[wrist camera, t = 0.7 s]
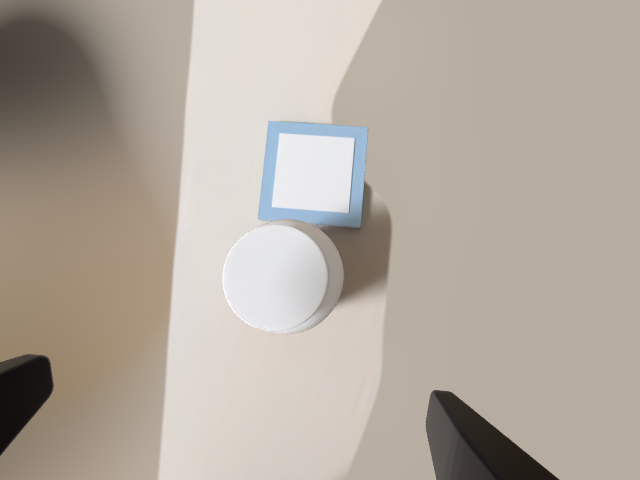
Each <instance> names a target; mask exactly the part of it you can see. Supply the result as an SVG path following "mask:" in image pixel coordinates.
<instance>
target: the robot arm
mask: <svg viewBox="0 0 640 480" xmlns="http://www.w3.org/2000/svg"><path fill="white" fill-rule="evenodd" d="M53 387H54V385H53V377H52V370H51V363H50V360H49V358H48V357H47V356H44V355H35V354H26V355H23V356H19V357H16V358H13V359H9V360H6V361H3V362H0V456H1V454H2V453H3V452H4V451H5V450H6V448H7V447H8V446H9V445H10V443H11V442H12V441H13V440H14V439H15V438H16V436H17V435H18V434H19V433H20V432H21V430H22V429H23V428H24V427H25V426H26V424H27V423H28V422H29V421H30V419H32V417H33V416H34V415H35V414H36V412H37V411H38V410H39V409H40V408H41V406H42V405H43V404H44V403H45V402H46V401H47V399H48V398H49V397H50V395H51V393H52V391H53ZM426 432H427V437H428V441H429V446H430V451H431V455H432V460H433V465H434V470H435V474H436V479H437V480H559V479H558V478H557V477H555V476H554V475H553V474H552V473H550V472H549V471H548V470H547V469H546V468H544V467H543V466H542V465H540V464H539V463H538V462H537V461H536V460H534V459H533V458H532V457H531V456H530V455H528V454H527V453H526V452H524V451H523V450H522V449H521V448H520V447H518V446H517V445H516V444H515V443H513V442H512V441H511V440H510V439H509V438H507V437H506V436H505V435H503V434H502V433H501V432H500V431H499V430H497V429H496V428H495V427H494V426H493V425H491V424H490V423H489V422H488V421H486V420H485V419H484V418H483V417H481V416H480V415H479V414H478V413H477V412H475V411H474V410H473V409H472V408H470V407H469V406H468V405H467V404H465V403H464V402H463V401H462V400H460V399H459V398H458V397H457V396H455V395H454V394H453V393H451V392H449V391H439V390H434V391H432V393H431V395H430V400H429V405H428V411H427V418H426Z"/></svg>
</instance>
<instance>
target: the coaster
mask: <svg viewBox="0 0 640 480" xmlns="http://www.w3.org/2000/svg"><path fill="white" fill-rule="evenodd" d="M367 138H368V127H355V126H340V125H324V124H308V123H292V122H276V121H269V123H268V132H267V141H266V150H265V159H264V168H263V177H262V186H261V196H260V205H259V214H258V219H259V220H261V221H274V220H280V219H295V220H300V221H304V222H307V223H309V224H311V225H322V226H335V227H347V228H359V229H360V227H361V214H362V202H363V189H364V176H365V163H366V149H367Z"/></svg>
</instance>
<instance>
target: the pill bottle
mask: <svg viewBox="0 0 640 480" xmlns="http://www.w3.org/2000/svg"><path fill="white" fill-rule="evenodd" d="M343 283H344V268H343V263H342V260H341V256H340V254H339V252H338V250H337V248H336V246H335V245H334V243H333V242H332V241H331V239H330V238H329V237H328V236H327V235H326V234H325V233H324V232H322V231H321V230H320V229H319V228H317V227H315V226H313V225H311V224H309V223H307V222H304V221H300V220H295V219H280V220H274V221H270V222H267V223H265V224H263V225H261V226H259V227H257V228H255V229H253V230H251V231H249V232H248V233H246V234H245V235H243V236H242V237H241V238H240V239H239V240H238V241H237V242H236V243H235V244H234V246H233V247H232V248H231V250H230V252H229V254H228V256H227V258H226V261H225V264H224V269H223V288H224V293H225V296H226V299H227V301H228V303H229V305H230V307H231V308H232V310H233V311H234V312H235V313H236V315H237V316H238V317H239V318H240V319H242V320H243V321H244V322H246V323H247V324H249V325H251V326H253V327H255V328H258V329H261V330H265V331H269V332H272V333H277V334H295V333H300V332H304V331H306V330H309V329H311V328H313V327H315V326H316V325H318V324H319V323H320V322H322V321H323V320H324V319H325V318H326V317H327V316H328V315H329V314H330V313H331V311H332V310H333V309H334V307H335V306H336V304H337V302H338V300H339V298H340V295H341V292H342V288H343Z"/></svg>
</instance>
